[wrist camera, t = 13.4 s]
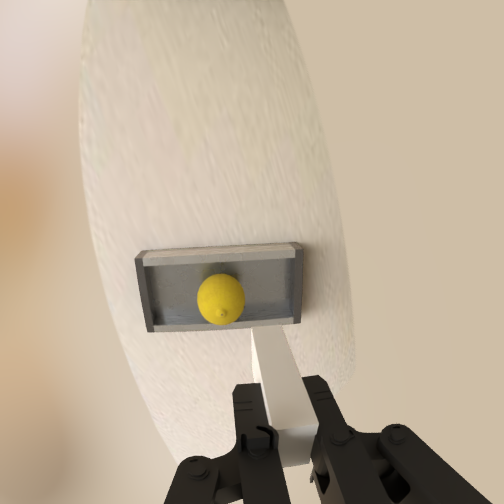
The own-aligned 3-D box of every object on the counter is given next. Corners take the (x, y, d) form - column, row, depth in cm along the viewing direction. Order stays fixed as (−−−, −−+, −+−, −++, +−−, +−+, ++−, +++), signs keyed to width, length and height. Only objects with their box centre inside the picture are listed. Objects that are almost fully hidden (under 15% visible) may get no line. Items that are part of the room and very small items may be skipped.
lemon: (217, 312, 38) (217, 345, 31) (190, 282, 37) (183, 310, 29) (250, 289, 38) (259, 318, 30) (224, 256, 36) (226, 279, 29)
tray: (141, 250, 36) (134, 258, 32) (295, 242, 38) (303, 249, 34) (152, 319, 39) (147, 332, 35) (294, 311, 41) (300, 323, 37)
